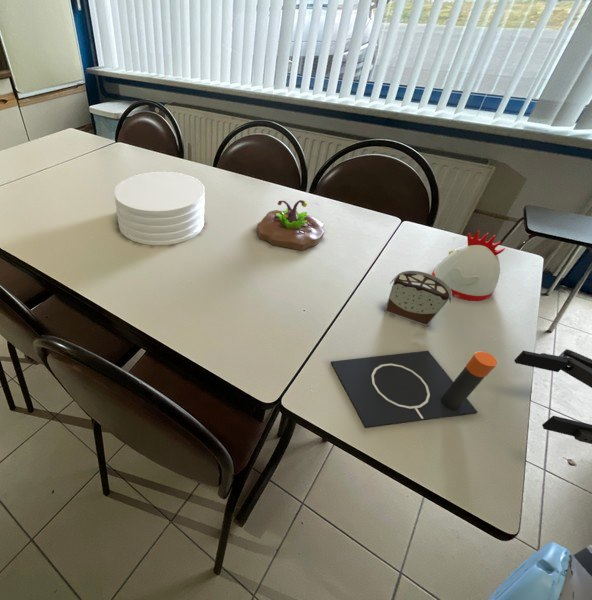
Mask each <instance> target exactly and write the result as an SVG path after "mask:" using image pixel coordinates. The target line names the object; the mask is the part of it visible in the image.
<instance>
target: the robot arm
mask: <svg viewBox="0 0 592 600" xmlns="http://www.w3.org/2000/svg"><path fill="white" fill-rule="evenodd" d="M514 363H515V364H517V365H518V364H519V365H522V366H526V367H532V368H537V369H541V370H547V371H549V372H550V371H551V372H555V373H559V372H561V371H562V372H564V373H565V374H567V375H569V376H571V377H572V378H574V379H575V380H577V381H579V382H581V383H582V384H584V385H586V386H588V387H589V388H591V389H592V358H589V357H587V356H584V355H583V354H580V353H577V352H575V351H573V350H571V349H568V348H566V349H564V350H563V351H562V352H561V353H560V354H559V355H556V354H550V353H545V352H542V353H537V352H532V351H527V350H522V351H521V352H520V354H518V355H517V357H516V358H515V359H514ZM541 426H542V428H543V430H546V431H550V432H554V433H558V434H562V435H567V436H569V437H570V436H571V437H573V438H574V439H575V440H576V441H578V442H581V443H585V444H590V445H592V424H591V423H586V422H582V421H578V420H574V419H569V418H566V417H561V416H557V415H552V416H551V417H550V418H549V419H548V418H547V420H546V421H544V422H543V423H542V424H541ZM487 600H592V544H589V545H587V546H586V547H584V548H582V549H581V550H579V551H578V552H576V553H574V554H572V553H571V551H569V550H568V549H567V547H564V546H562V545H560V544H558V543H557V542H554V541H552V542H551V541H550V542H547V543H546V544H543V546H542V547H541V548H540V549H538V550H537V551H536V552H534V553H532V554H531V555H530V556H529V557H527V558H526V559H525V560H524V561H523V562H522V563H521V564H520V565H518V566H517V568H516V569H514V570H513V572H511V573H510V574H509V575H508V576H507V577H506V579H505V580H504V581H503V582H502V583H501V584H500V585H499V586H498V587H497V588H496V589H495V590H494V592H493V593H492V594H491V595H490V596H489V597H488V598H487Z"/></svg>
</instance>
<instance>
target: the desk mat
mask: <svg viewBox="0 0 592 600" xmlns="http://www.w3.org/2000/svg"><path fill="white" fill-rule="evenodd" d="M330 365H331V366H332V368H333V370H334V373H335V374H336V375H337V377H338V379H339V381H340V383H341V385H342V388H343V389H344V391H345V392H346V395H347V396H348V398H349V400H350V402H351V403H352V406H353V408H354V410H355V412H356V413H357V415H358V417H359V419H360V421H361V424H362V425H363V426H364V428H365V429H366V428H374V427H381V426H389V425H396V424H404V423H412V422H419V421H427V420H428V421H429V420H434V419H443V418H451V417H458V416H466V415H473V414H477V413H478V410H477V409H476V408H475V406H474V405H473V404H472V403H471V402H470V400H469V399H468V397H467V398H466V399H465V400H464V402H463V403H462V404H461V405H460V406H459V407H458V408H457V409H455V410H452V409H449V408H447V407H445V406H444V405H443V404H442V402H441V397H442V396H443V395H444V393H445V392H446V391H447V390H448V388H449V387H450V386H451V384H452V383H453V382H454V381H453V379H452V378H451V377H450V376H449V374H448V373H447V372H446V371H445V369H444V368H443V367H442V365H441V364H440V363H439V362H438V361H437V359H436V358H435V357H434V356H433V354H431V352H430V351H429V350H422V351H421V350H420V351H412V352H404V353H395V354H385V355H377V356H368V357H359V358H358V357H357V358H349V359H342V360H339V359H338V360H333V361H332V360H331V361H330Z"/></svg>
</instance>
